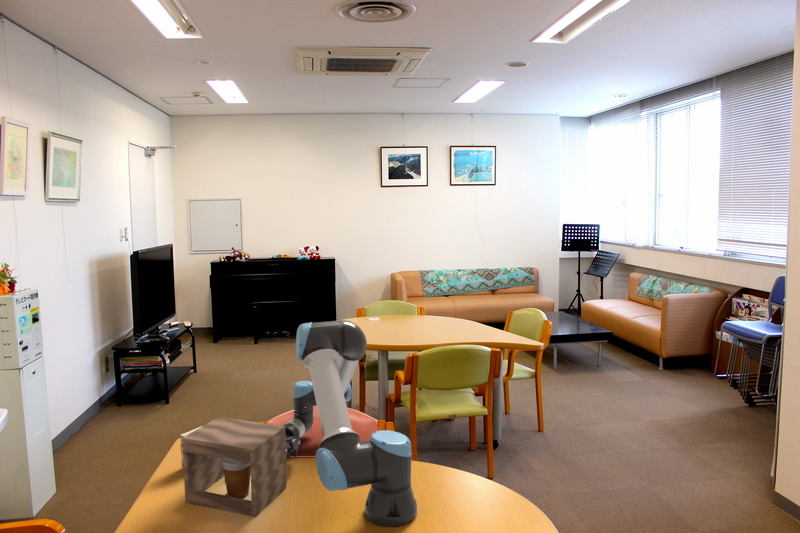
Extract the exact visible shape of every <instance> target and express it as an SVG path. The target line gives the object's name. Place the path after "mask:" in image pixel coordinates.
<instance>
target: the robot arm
mask: <svg viewBox="0 0 800 533" xmlns="http://www.w3.org/2000/svg"><path fill="white" fill-rule="evenodd" d="M295 338H296V339H295V357H296V360H298V361H300V362H301V361H302V362H303V366H304V368H306V369H308V370H309V372H310V373H309V374H310V378H311V381H310V380H300V381H297V382H295V383H294V384H293V387H292V404H293V405H292V406H293V407H292V408H293V409H292V410H295V411H292V412H293V413H292V414H293V415H292V416H293V418H291V419H290V420H289V421H287V422H286V423H284V424H283V425H282V426H285V441H286V460H287V459H288V458H290V457H292V456H293V457H294V458H297V457H298V451H299V447H300V446H301V438H303V437H304V436H305V435H307V434H308V433H309V432H310V431H311V430H310V429H311V428H312V424H313V420H314V419H313V418H314V417H313V410H314V407H316V409H317V413H318V420H319V424H320V427H321V433H322V439H321V440H320V443H319V446H318V447H319V448H318V449H317V450H316V452H315V462H316V470H317V472H318V476H319V480H320V482H321V484H322V485H323V487H324V488H325V489H326V490H327V491H329V492H335V491H336V492H338V491H346V490H348V489H354V488H358V487H363V486H369V485H370V489H369V491H368V495H367V498H366V500H365V504H364V514H365V517H366V518H367V520H369V521H370V522H371V523H373V524H375V525H378V526H382V527H399V526H403V525H406V524H409V523H410V522H412V521H413V520H414V519H415V518H416V517H415V516H417V514H418V504H417V503H418V502H417V499H415V495H414V492H413V489H412V488H413V487H412V455H413V452H412V444H411V443H412V442H411V440H410V439H409V437H408V436H407V435H405V434H403V433H401V432H398V431H393V430H387V429H385V430H377V431H375V432H372V433H371V435H370V437H369V440H365V441H364V440H363V441H361V438H360V435H359V433H358V432H356V431H354V430H353V426H352V423H351V419H350V415H349V412H348V411H349V410H348V405H347V402H350V401H351V400H352V395H353V391H352V390H353V389H352V386H351V382H352V379H353V376H354V375H355V374H354V373H355V371H356V368H357V366H358V363H359V361H360V360H361V359H362V358H364V356H365V353H366V351H367V348H368V347H367V346H368V343H367V342H368V341H367V337H366V335H365V332H364V331H363V330H362V329H361V327H360V326H358V325H357V324H356V323H354V322H353V321H351V320H346V319H340V320H339V319H338V320H331V321H330V320H329V321H320V322H317V321H316V322H312V321H310V322H305V323H301V324H299V326H298V328H297V330H296V336H295ZM313 406H314V407H313ZM305 407H306V408H305ZM294 413H295V414H294ZM297 414H298V415H297ZM309 430H310V431H309ZM308 431H309V432H308ZM307 432H308V433H307ZM292 446H293V449H292Z"/></svg>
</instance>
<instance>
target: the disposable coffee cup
mask: <svg viewBox="0 0 800 533" xmlns="http://www.w3.org/2000/svg"><path fill="white" fill-rule="evenodd" d="M221 465H222V467H223V471H224V477H223V478H224V481H225V487H226V488H225V489H226V494H227V496H231V497H236V498H241V499H245V498H246V497H247V496H248V495H249V494H250V486H251V465H250V463H245V462H240V461H234V460H229V459H222V461H221Z"/></svg>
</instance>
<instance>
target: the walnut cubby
mask: <svg viewBox="0 0 800 533" xmlns="http://www.w3.org/2000/svg"><path fill="white" fill-rule="evenodd" d="M201 426H202V427H201ZM201 426H199V427H200V428H199V427H198V428H199V429H197V428H196V429H197V430H195V431H194V432H192V433H190V434H188V435H187V436H185V437H183V460H184V469H183V477H184V479H183V482H184V502H185V504H192V505H196V506H199V507H200V506H201V507H205V508H211V509H214V510H215V509H216V510H220V511H224V512H228V513H233V514H237V515H242V516H243V515H244V516H249V517H253V518H257V517H258V516H259V514H261V513H262V512H263V511H264V510H265V509H267V507H268V506H269V505H270V504H272V502H273V501H275V500H276V499H277V497H279V496H280V495H281V494H282V493H283V492H284V491H285V490H286V489H287V462H286V461H287V459H286V441H285V426H283V425H277V424H269V423H263V422H257V421H250V420H244V419H237V418H230V417H224V416H223V417H222V416H218V417H217V418H215V419H213V420H211V421H209V422H207V423H206V424H204V425H201ZM222 459H229V460H234V461H240V462H245V463H250V465H251V476H250V490H251V491H250V493H251V495H250V499H251V500H249V499H245V498H236V497H231V496H228V495H224V494H221V493H215V492H210V491H206V490H208V489H209V488H211V487H212V486H213V485H214V483H215V484H216V483H217V482H219V481H220V480H221V479H222V477H223V478H225V477H224V471H223V467H222V465H221V461H222ZM219 479H220V480H219ZM218 480H219V481H218Z"/></svg>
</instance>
